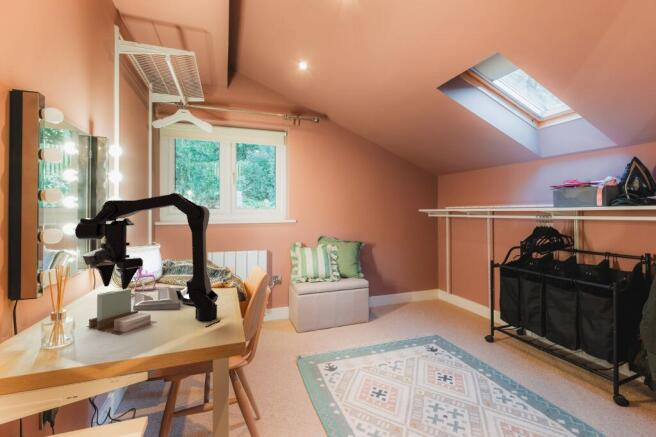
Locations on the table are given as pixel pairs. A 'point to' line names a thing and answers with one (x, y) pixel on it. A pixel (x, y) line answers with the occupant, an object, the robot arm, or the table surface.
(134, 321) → the offcut upper
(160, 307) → the emblem
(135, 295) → the bracelet
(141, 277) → the toy chair
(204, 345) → the table surface
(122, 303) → the green panel
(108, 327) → the rack
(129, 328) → the offcut lower
